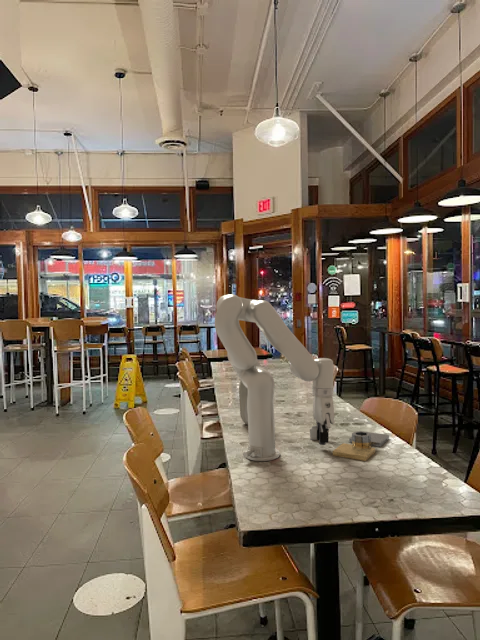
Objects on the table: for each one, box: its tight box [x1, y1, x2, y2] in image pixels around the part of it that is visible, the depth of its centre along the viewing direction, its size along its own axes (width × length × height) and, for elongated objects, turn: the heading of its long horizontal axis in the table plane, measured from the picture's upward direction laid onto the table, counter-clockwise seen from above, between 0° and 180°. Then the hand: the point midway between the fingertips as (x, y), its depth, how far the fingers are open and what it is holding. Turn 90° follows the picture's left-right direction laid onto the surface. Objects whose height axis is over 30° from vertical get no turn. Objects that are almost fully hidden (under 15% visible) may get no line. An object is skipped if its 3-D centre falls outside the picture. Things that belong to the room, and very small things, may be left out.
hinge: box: [332, 430, 390, 462], centre depth 166 cm, size 27×12×5 cm, turn 146°
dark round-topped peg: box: [318, 422, 327, 446], centre depth 165 cm, size 3×3×9 cm
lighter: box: [309, 425, 318, 441], centre depth 178 cm, size 7×2×8 cm, turn 87°
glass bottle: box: [238, 380, 248, 425], centre depth 202 cm, size 10×10×28 cm
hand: (322, 440), depth 165 cm, fingers closed on dark round-topped peg, 2 cm apart
